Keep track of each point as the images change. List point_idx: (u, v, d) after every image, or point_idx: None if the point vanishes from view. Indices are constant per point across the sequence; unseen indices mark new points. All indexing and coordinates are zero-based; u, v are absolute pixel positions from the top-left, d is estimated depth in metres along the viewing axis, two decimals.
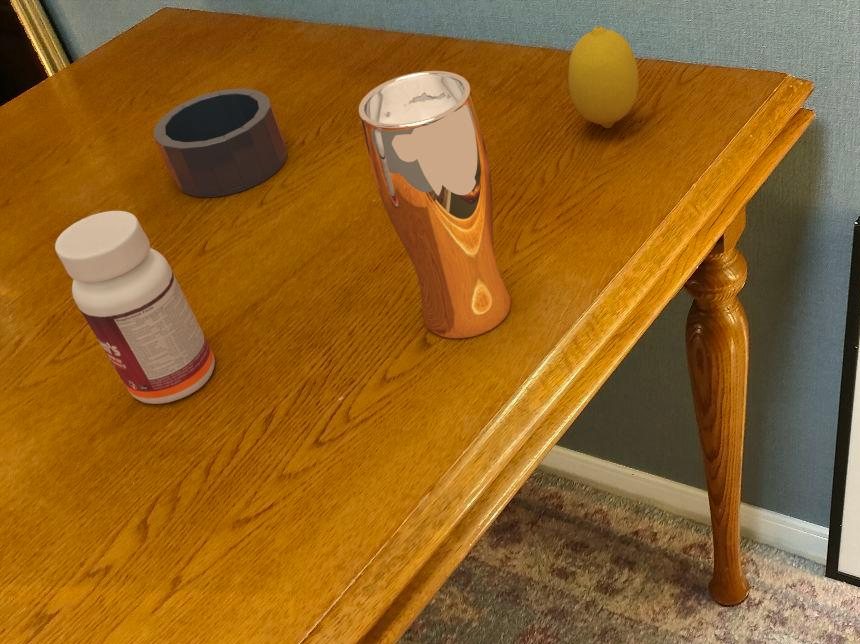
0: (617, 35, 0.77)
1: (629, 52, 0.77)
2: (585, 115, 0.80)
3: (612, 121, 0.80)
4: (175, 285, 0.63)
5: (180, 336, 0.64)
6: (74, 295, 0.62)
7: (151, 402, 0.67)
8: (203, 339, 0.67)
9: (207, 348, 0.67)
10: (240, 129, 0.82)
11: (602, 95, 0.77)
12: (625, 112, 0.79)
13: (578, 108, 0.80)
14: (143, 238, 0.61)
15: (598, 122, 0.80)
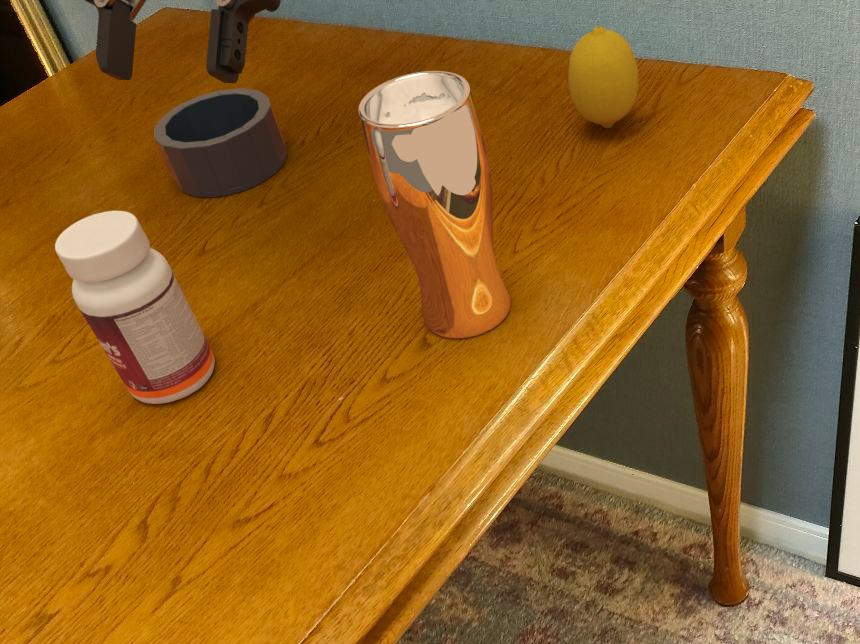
0: (617, 35, 0.77)
1: (629, 52, 0.77)
2: (585, 115, 0.80)
3: (612, 121, 0.80)
4: (175, 285, 0.63)
5: (180, 336, 0.64)
6: (74, 295, 0.62)
7: (151, 402, 0.67)
8: (203, 339, 0.67)
9: (207, 348, 0.67)
10: (240, 129, 0.82)
11: (602, 95, 0.77)
12: (625, 112, 0.79)
13: (578, 108, 0.80)
14: (143, 238, 0.61)
15: (598, 122, 0.80)
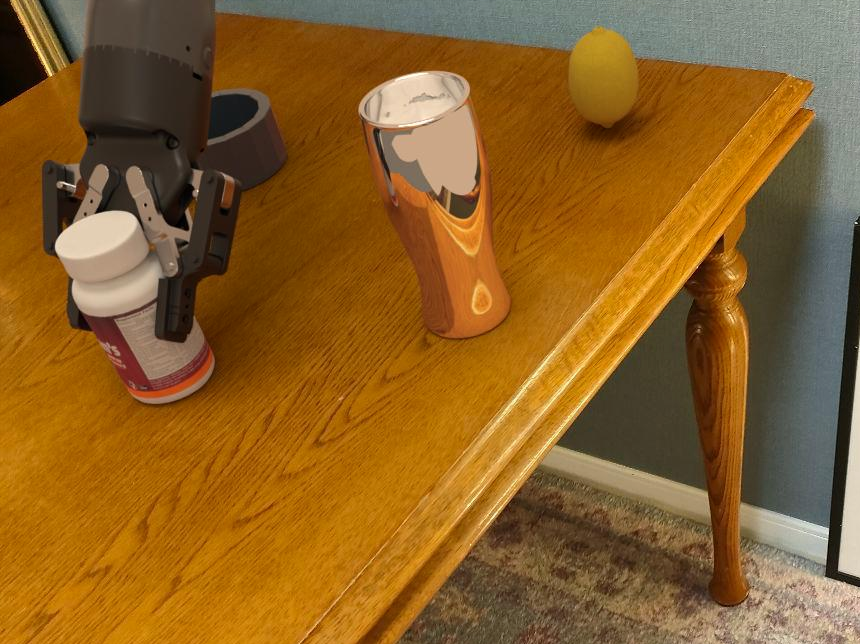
0: (617, 35, 0.77)
1: (629, 52, 0.77)
2: (585, 115, 0.80)
3: (612, 121, 0.80)
4: None
5: None
6: (74, 295, 0.62)
7: (151, 402, 0.67)
8: (203, 339, 0.67)
9: (207, 348, 0.67)
10: (240, 129, 0.82)
11: (602, 95, 0.77)
12: (625, 112, 0.79)
13: (578, 108, 0.80)
14: (143, 238, 0.61)
15: (598, 122, 0.80)
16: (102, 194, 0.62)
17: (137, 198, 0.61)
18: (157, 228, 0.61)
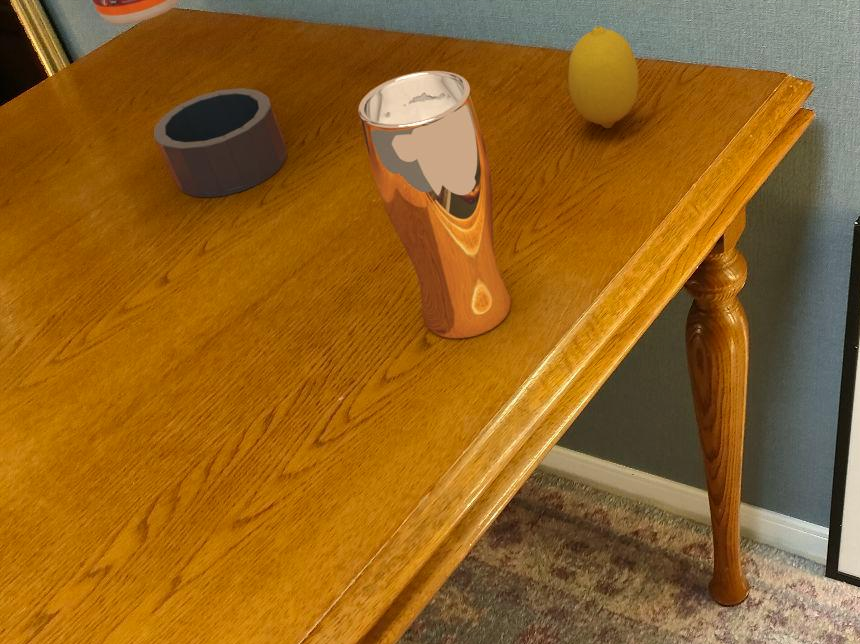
0: (617, 35, 0.77)
1: (629, 52, 0.77)
2: (585, 115, 0.80)
3: (612, 121, 0.80)
4: None
5: None
6: None
7: (120, 21, 0.71)
8: None
9: None
10: (240, 129, 0.82)
11: (602, 95, 0.77)
12: (625, 112, 0.79)
13: (578, 108, 0.80)
14: None
15: (598, 122, 0.80)
16: None
17: None
18: None
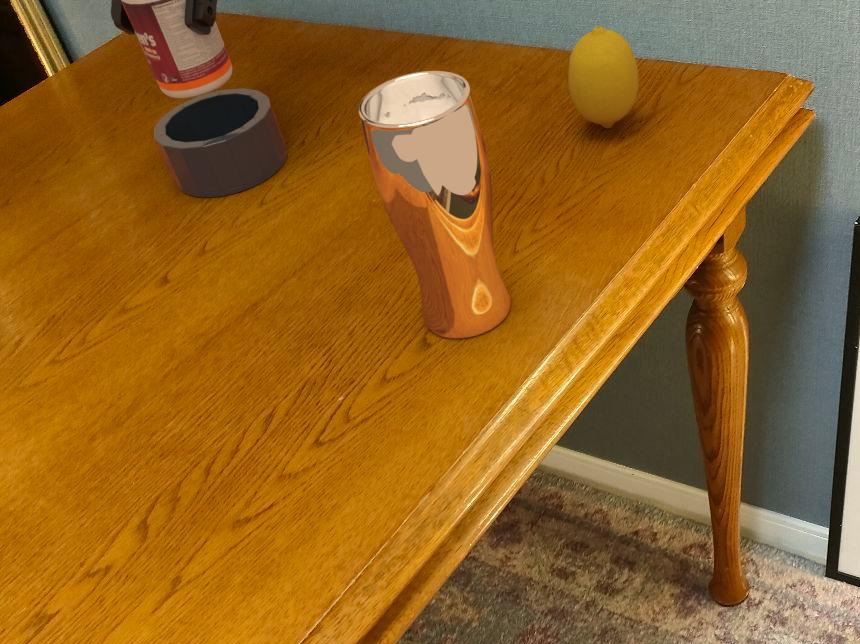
0: (617, 35, 0.77)
1: (629, 52, 0.77)
2: (585, 115, 0.80)
3: (612, 121, 0.80)
4: None
5: None
6: None
7: (180, 95, 0.80)
8: (223, 44, 0.80)
9: (226, 53, 0.81)
10: (240, 129, 0.82)
11: (602, 95, 0.77)
12: (625, 112, 0.79)
13: (578, 108, 0.80)
14: None
15: (598, 122, 0.80)
16: None
17: None
18: None
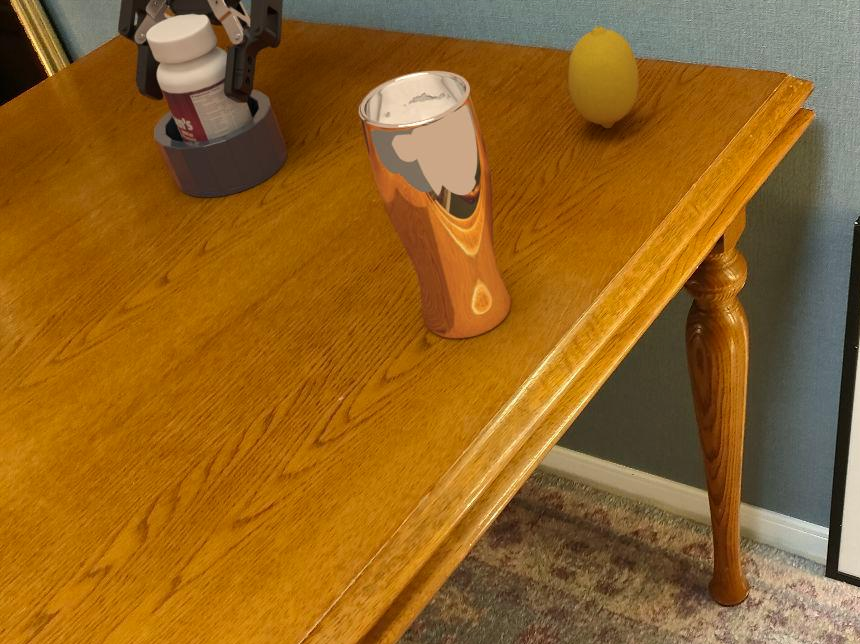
0: (617, 35, 0.77)
1: (629, 52, 0.77)
2: (585, 115, 0.80)
3: (612, 121, 0.80)
4: None
5: (238, 116, 0.83)
6: (159, 77, 0.80)
7: None
8: None
9: None
10: (240, 129, 0.82)
11: (602, 94, 0.77)
12: (625, 112, 0.79)
13: (578, 108, 0.80)
14: (212, 31, 0.79)
15: (598, 122, 0.80)
16: None
17: None
18: (217, 12, 0.79)
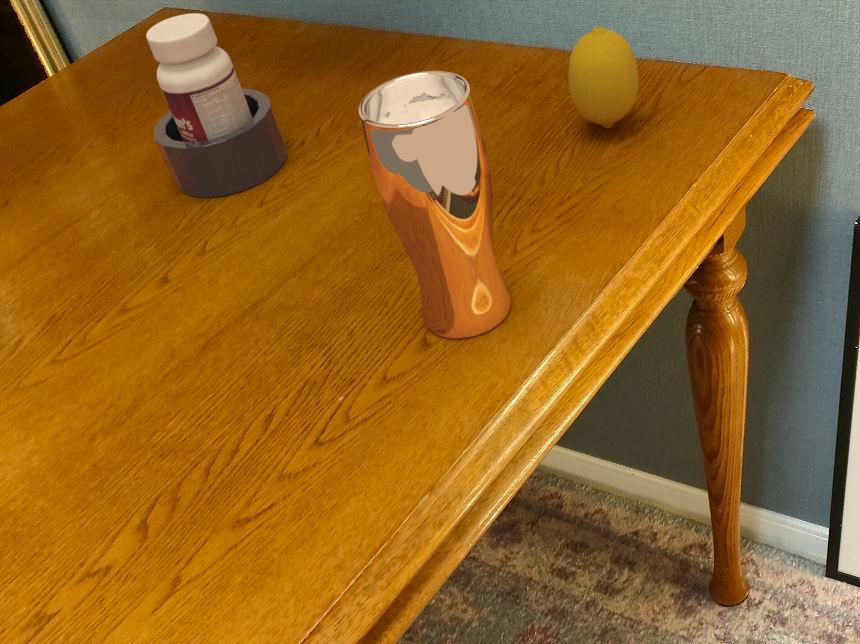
0: (617, 35, 0.77)
1: (629, 52, 0.77)
2: (585, 115, 0.80)
3: (612, 121, 0.80)
4: (235, 74, 0.82)
5: (238, 116, 0.83)
6: (159, 77, 0.80)
7: None
8: None
9: None
10: (240, 129, 0.82)
11: (602, 94, 0.77)
12: (625, 112, 0.79)
13: (578, 108, 0.80)
14: (212, 31, 0.79)
15: (598, 122, 0.80)
16: None
17: None
18: None
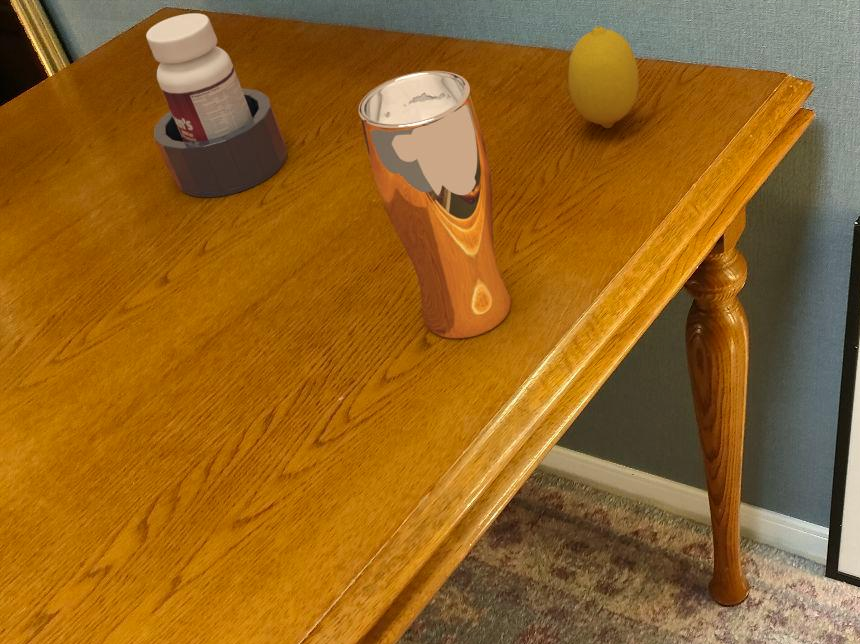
0: (617, 35, 0.77)
1: (629, 52, 0.77)
2: (585, 115, 0.80)
3: (612, 121, 0.80)
4: (235, 74, 0.82)
5: (238, 116, 0.83)
6: (159, 77, 0.80)
7: None
8: None
9: None
10: (240, 129, 0.82)
11: (602, 94, 0.77)
12: (625, 112, 0.79)
13: (578, 108, 0.80)
14: (212, 31, 0.79)
15: (598, 122, 0.80)
16: None
17: None
18: None
